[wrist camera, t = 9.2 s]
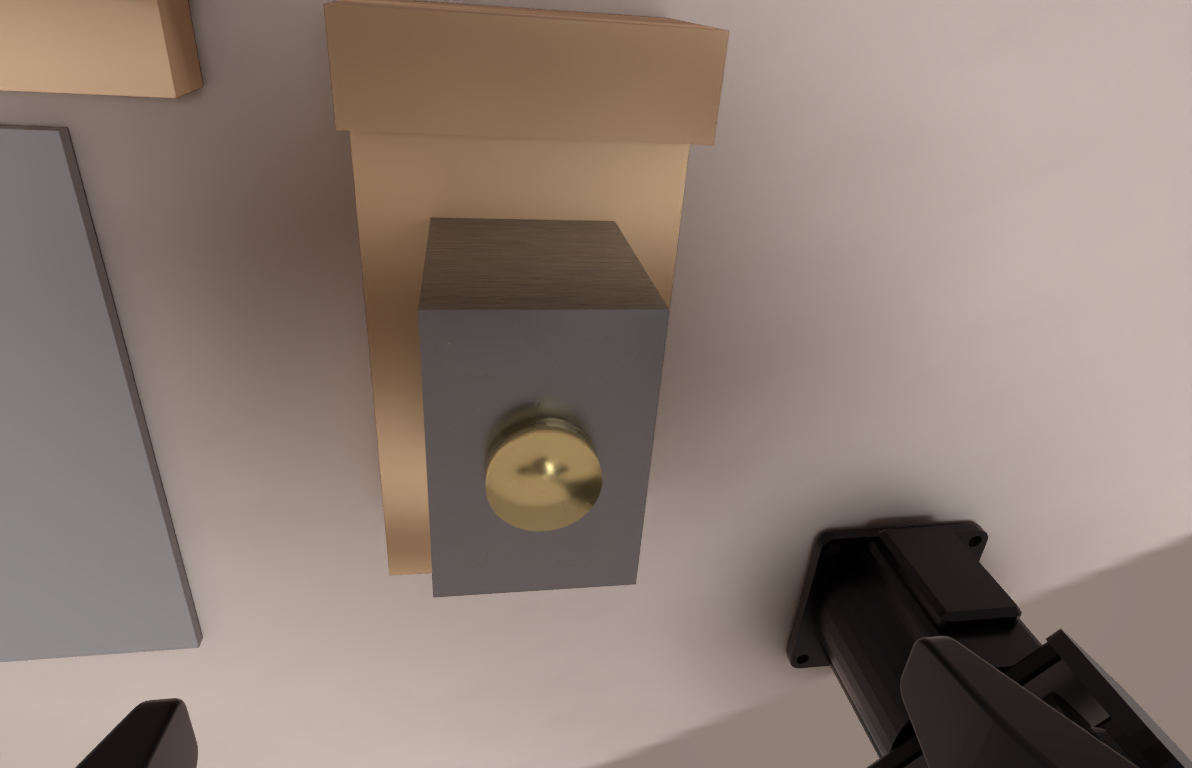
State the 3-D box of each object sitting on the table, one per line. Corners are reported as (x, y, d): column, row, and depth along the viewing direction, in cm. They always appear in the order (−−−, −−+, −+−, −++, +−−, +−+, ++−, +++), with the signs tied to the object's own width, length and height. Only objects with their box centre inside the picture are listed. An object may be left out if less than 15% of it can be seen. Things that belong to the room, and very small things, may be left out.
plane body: (619, 497, 24) (650, 601, 20) (397, 506, 23) (384, 619, 19) (668, 18, 17) (729, 30, 13) (358, -4, 16) (323, 3, 12)
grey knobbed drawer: (597, 447, 19) (642, 606, 14) (440, 452, 18) (432, 620, 14) (614, 221, 16) (679, 324, 11) (430, 217, 16) (415, 325, 11)
